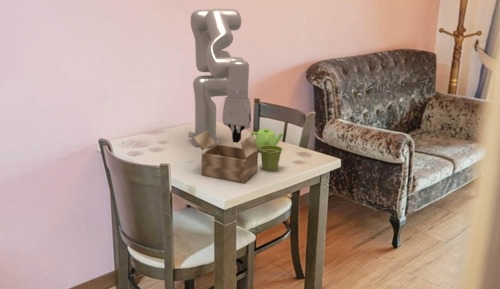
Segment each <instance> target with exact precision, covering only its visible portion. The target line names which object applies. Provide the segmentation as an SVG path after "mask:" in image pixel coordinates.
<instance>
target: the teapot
mask: <svg viewBox="0 0 500 289" xmlns="http://www.w3.org/2000/svg"><path fill="white" fill-rule="evenodd" d="M251 135H253V137H254V136H255V138H254V140H255V143H256V146H257V151H259V152H258V153H260V150H259V147H260V146H264V145H275V146H278V144H279V142H280V141H281V139H282V137H283V136H284V133H279V134H278V136H277V137H276V133H275V131H274V130H272V129H269V128H263V129H258V131H251V132H250V136H251Z"/></svg>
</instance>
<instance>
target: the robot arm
mask: <svg viewBox="0 0 500 289" xmlns="http://www.w3.org/2000/svg"><path fill="white" fill-rule="evenodd" d="M241 26H242V16H241V14H240V12H239V11H238V10H237V9H233V8H212V9H199V10H194V11H193V12H192V13H191V14H190V27H191V31H192V34H193V37H194V40H195V41H194V42H195V44H194V45H195V65H196V66H195V67H196V70H197V71H198V72H201V73H210V74H209V75H207V74H206V75H199V76H196V77H195V79H194V80H193V82H192V86H193V88H192V89H193V93H194V105H195V106H194V109H195V110H194V115H195V116H194V120H195V123H194V129H195V130H194V132H192V131H189V132H188V134H187V137H188V138H191V139H192V140H191V144H192V145H193V146H196V147H199V145H198V144H197V142H196V141H195V140H194V137H195V136H197V135H199V134H201V133H203V132H205V131H206V130H207V131H208V132H209V134H210V135H211V137H212V138H213V140H214V141H215V143H214V144H212V145H211V146H209V147H208V148H211V147H213V146H214V145H216V144H219V145H220V141H219V139H218V138H217V106H216V103H215V102H214V101H213V99H212V98H215V97H224V102H223V108H222V122H223V125H224V126H226V127H228V128H229V129H230V132H231V133H232V135H231V136H232V137H231V138H232V142H233V143H236V144H237V143H239V142H241V139H242V131H244V130H246V129H251V127H252V125H251V121H252V107H251V99H250V98H249V77H250V76H249V72H250V63H249V62H248V61H246V60H245V59H244V58H242V57H240V56H238V57H237V56H231V54H230V52H228V51H227V50H225V49H226V48H228V47H230V46H231V45H232V44H233V42H234V36H233V33H232V31H233V32H234V31H238V30H240V28H241ZM199 148H200V147H199Z"/></svg>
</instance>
